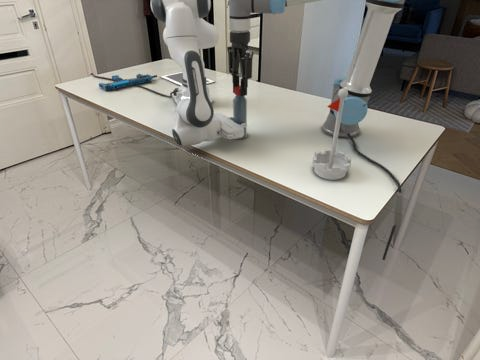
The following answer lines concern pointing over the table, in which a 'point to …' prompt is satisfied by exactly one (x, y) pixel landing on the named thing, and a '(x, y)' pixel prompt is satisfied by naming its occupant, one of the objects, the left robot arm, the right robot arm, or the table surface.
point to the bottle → (240, 112)
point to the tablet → (180, 78)
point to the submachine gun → (126, 81)
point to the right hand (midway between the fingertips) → (240, 93)
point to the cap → (237, 90)
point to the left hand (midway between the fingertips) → (241, 121)
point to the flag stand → (333, 149)
